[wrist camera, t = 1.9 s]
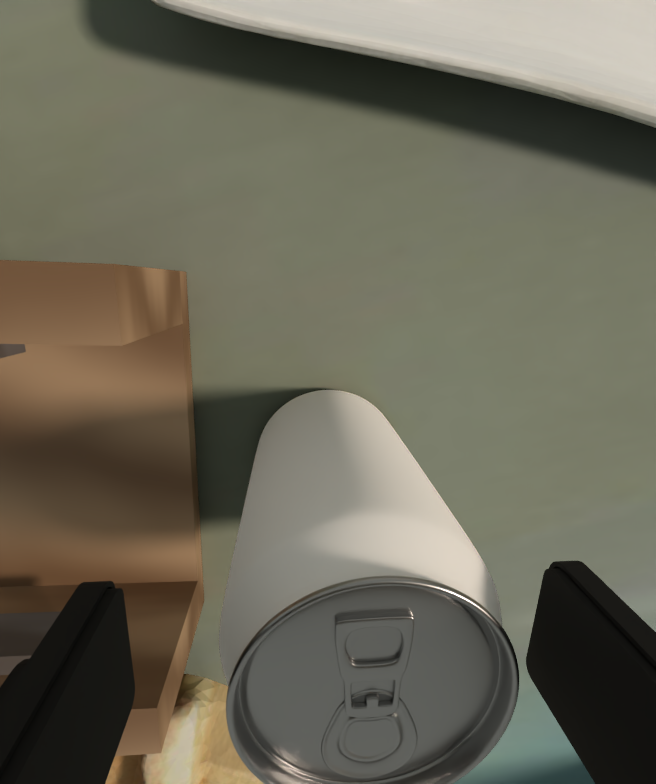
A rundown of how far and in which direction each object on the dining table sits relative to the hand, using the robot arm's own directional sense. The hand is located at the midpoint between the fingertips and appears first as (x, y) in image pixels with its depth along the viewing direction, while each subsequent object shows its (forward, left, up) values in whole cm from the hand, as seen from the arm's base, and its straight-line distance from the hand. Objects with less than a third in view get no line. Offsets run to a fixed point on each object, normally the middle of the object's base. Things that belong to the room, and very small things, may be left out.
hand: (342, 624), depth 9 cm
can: (0, -1, -11) cm, 11 cm away
